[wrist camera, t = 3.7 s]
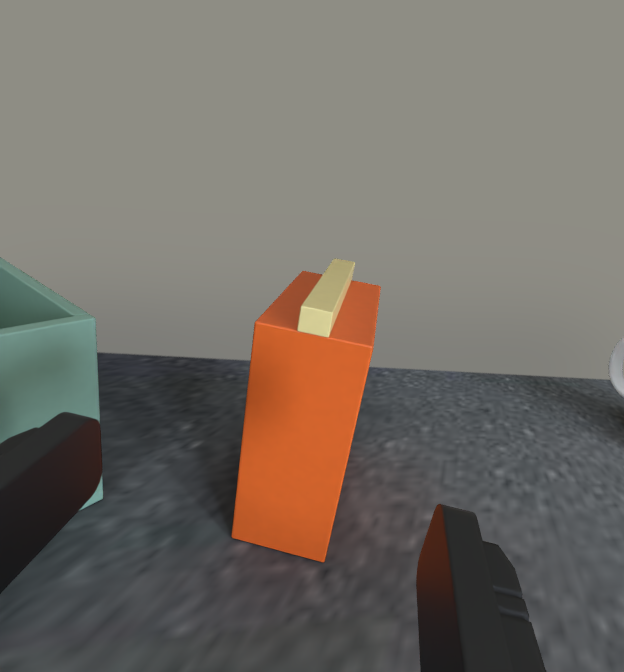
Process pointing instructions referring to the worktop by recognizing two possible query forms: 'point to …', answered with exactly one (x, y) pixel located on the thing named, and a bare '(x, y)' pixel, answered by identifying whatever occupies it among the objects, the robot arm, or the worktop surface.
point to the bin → (44, 357)
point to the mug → (617, 367)
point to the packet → (303, 409)
